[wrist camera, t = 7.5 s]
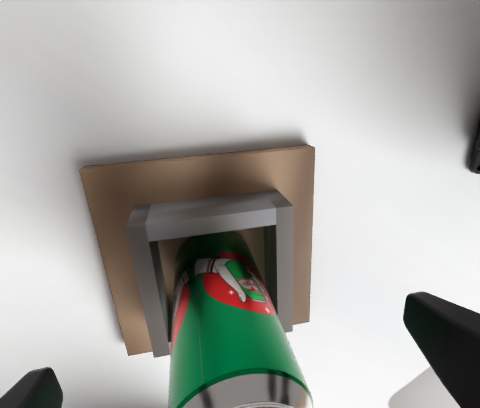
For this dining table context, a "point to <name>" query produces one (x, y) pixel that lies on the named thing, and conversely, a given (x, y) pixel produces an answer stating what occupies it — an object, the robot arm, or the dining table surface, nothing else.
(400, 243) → the dining table surface
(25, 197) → the dining table surface
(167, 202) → the keeper board
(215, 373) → the soda can
